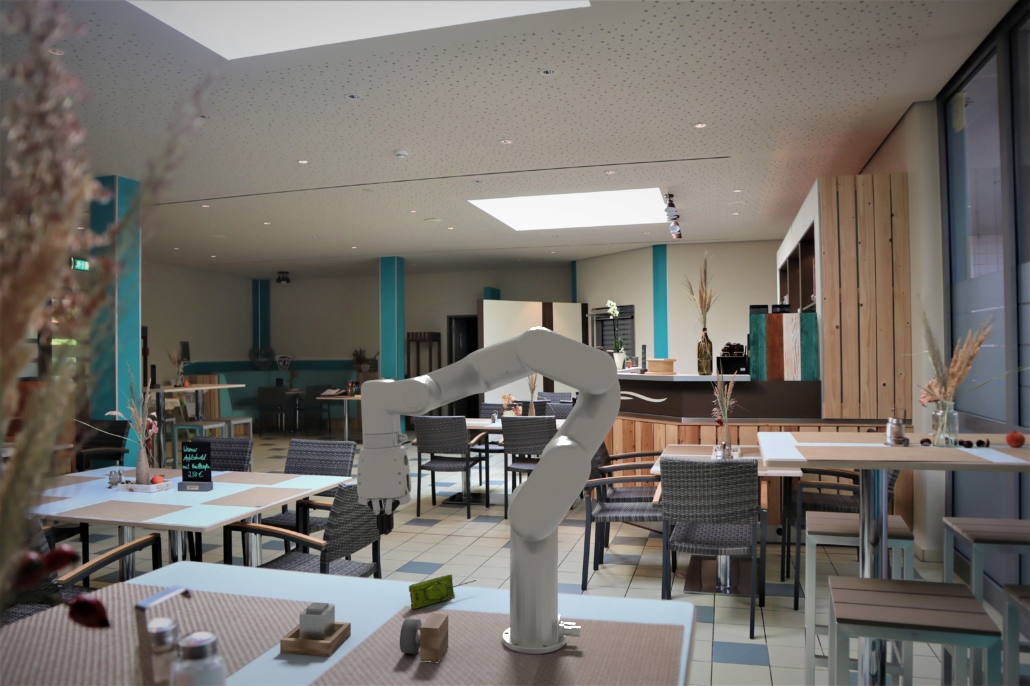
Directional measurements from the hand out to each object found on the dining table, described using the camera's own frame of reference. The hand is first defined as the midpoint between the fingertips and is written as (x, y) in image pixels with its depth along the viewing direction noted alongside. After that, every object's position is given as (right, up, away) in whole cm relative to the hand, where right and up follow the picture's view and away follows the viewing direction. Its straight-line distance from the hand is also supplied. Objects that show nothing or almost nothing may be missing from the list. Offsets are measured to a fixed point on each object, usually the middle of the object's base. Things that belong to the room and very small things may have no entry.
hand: (385, 532), depth 139 cm
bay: (-13, -21, -3) cm, 25 cm away
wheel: (+6, -21, -7) cm, 23 cm away
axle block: (+11, -21, -8) cm, 25 cm away
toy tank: (+10, -22, +21) cm, 32 cm away
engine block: (-13, -21, -2) cm, 24 cm away
